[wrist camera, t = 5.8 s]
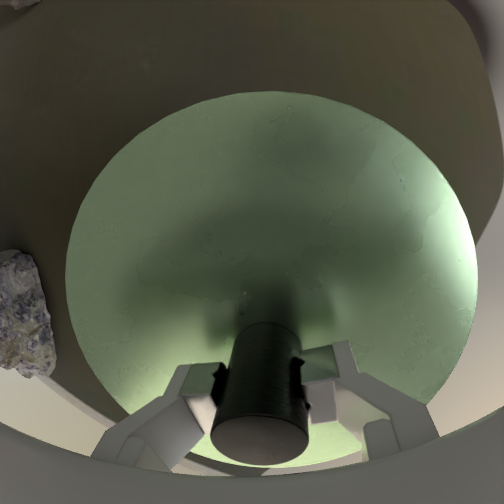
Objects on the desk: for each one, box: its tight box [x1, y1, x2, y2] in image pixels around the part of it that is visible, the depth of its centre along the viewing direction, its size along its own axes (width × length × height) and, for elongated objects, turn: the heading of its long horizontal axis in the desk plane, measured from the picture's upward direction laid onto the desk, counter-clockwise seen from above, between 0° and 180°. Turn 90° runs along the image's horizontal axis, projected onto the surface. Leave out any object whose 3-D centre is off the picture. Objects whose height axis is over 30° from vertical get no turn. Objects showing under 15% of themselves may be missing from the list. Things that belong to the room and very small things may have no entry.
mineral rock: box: [0, 249, 57, 378], centre depth 19 cm, size 13×11×10 cm
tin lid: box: [65, 91, 478, 468], centre depth 8 cm, size 17×17×5 cm
